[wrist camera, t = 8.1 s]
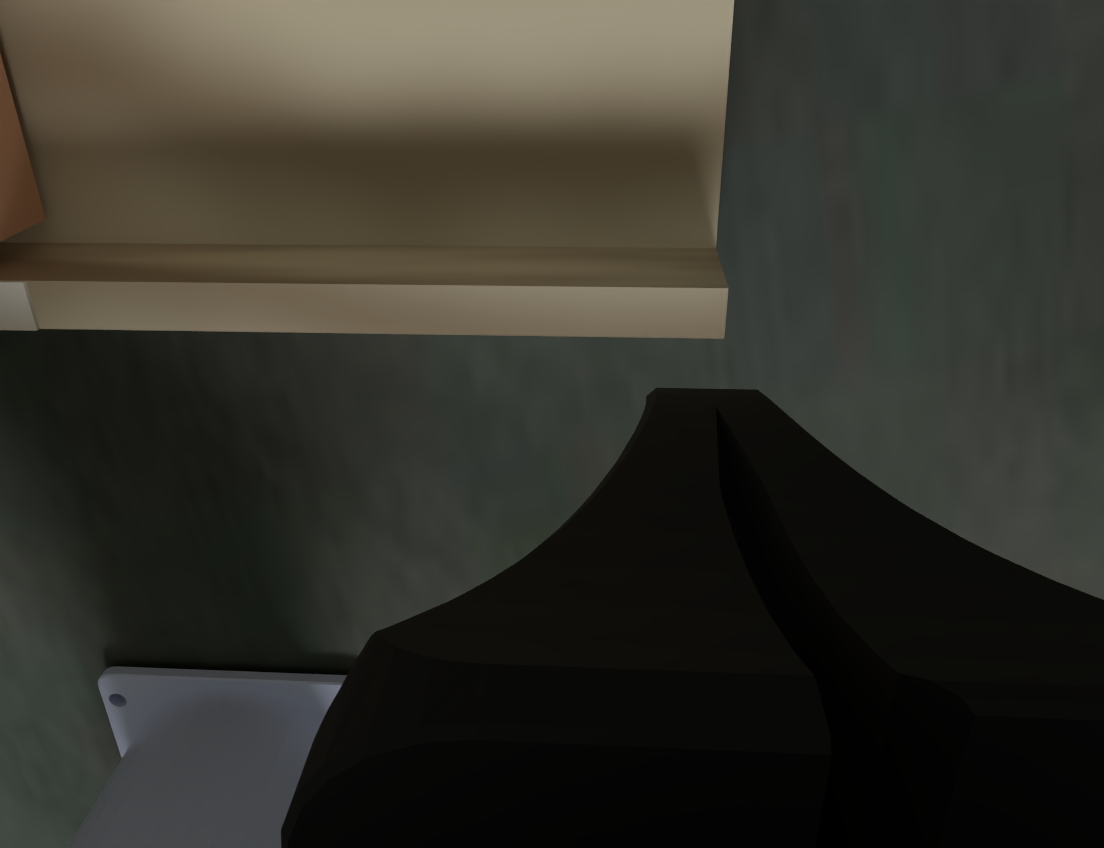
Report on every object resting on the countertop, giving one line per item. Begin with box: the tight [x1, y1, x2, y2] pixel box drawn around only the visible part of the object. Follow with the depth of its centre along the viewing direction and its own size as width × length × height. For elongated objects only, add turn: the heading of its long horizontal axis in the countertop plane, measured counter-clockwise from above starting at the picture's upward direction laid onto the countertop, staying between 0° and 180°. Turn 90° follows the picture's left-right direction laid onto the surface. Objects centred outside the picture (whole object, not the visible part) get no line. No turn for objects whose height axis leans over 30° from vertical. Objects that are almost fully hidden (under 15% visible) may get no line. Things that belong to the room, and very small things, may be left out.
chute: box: [0, 0, 734, 339], centre depth 18 cm, size 10×28×4 cm, turn 91°
